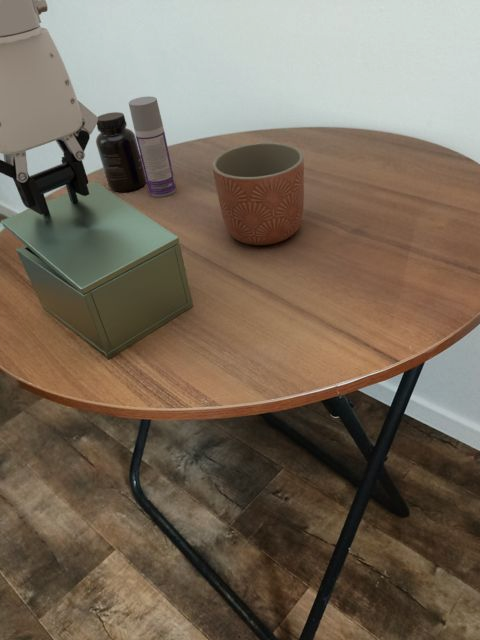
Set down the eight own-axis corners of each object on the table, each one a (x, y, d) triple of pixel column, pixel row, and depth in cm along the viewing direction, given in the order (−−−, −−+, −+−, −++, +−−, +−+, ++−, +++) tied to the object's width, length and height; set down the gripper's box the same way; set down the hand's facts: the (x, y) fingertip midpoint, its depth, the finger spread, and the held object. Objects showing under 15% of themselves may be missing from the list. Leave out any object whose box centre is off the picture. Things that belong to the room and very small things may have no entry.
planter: (293, 257, 71) (288, 180, 64) (210, 249, 75) (197, 175, 68) (315, 214, 80) (313, 143, 73) (240, 209, 83) (231, 140, 76)
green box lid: (3, 226, 60) (-15, 182, 56) (96, 186, 66) (86, 144, 62) (83, 295, 53) (69, 250, 49) (179, 243, 59) (174, 199, 55)
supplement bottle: (154, 182, 95) (137, 113, 87) (123, 196, 91) (103, 126, 84) (132, 174, 99) (114, 107, 91) (102, 187, 95) (81, 119, 87)
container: (155, 185, 94) (134, 96, 84) (179, 185, 93) (161, 95, 83) (145, 197, 90) (122, 106, 80) (171, 197, 89) (151, 105, 79)
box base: (43, 308, 67) (15, 249, 62) (123, 265, 74) (105, 208, 68) (108, 359, 58) (83, 295, 53) (193, 306, 65) (179, 243, 59)
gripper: (56, 1, 55) (103, 169, 67) (-114, 35, 46) (-25, 221, 59) (94, 5, 51) (137, 183, 63) (-84, 43, 42) (5, 241, 54)
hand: (59, 200), depth 61 cm, fingers closed on green box lid, 4 cm apart
